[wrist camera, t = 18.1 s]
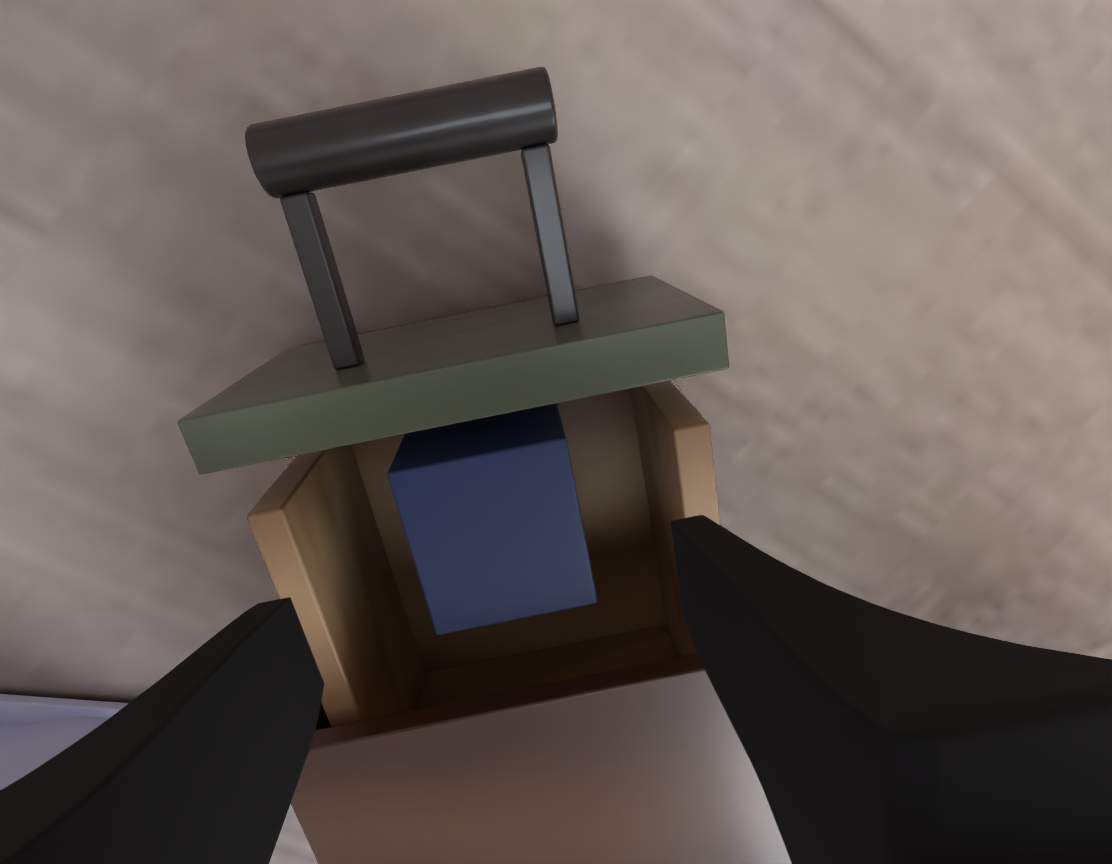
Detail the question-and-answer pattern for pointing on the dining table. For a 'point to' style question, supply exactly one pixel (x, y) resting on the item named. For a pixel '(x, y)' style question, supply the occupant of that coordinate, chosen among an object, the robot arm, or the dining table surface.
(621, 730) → the cabinet
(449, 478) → the box
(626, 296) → the drawer
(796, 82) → the dining table surface
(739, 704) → the robot arm
